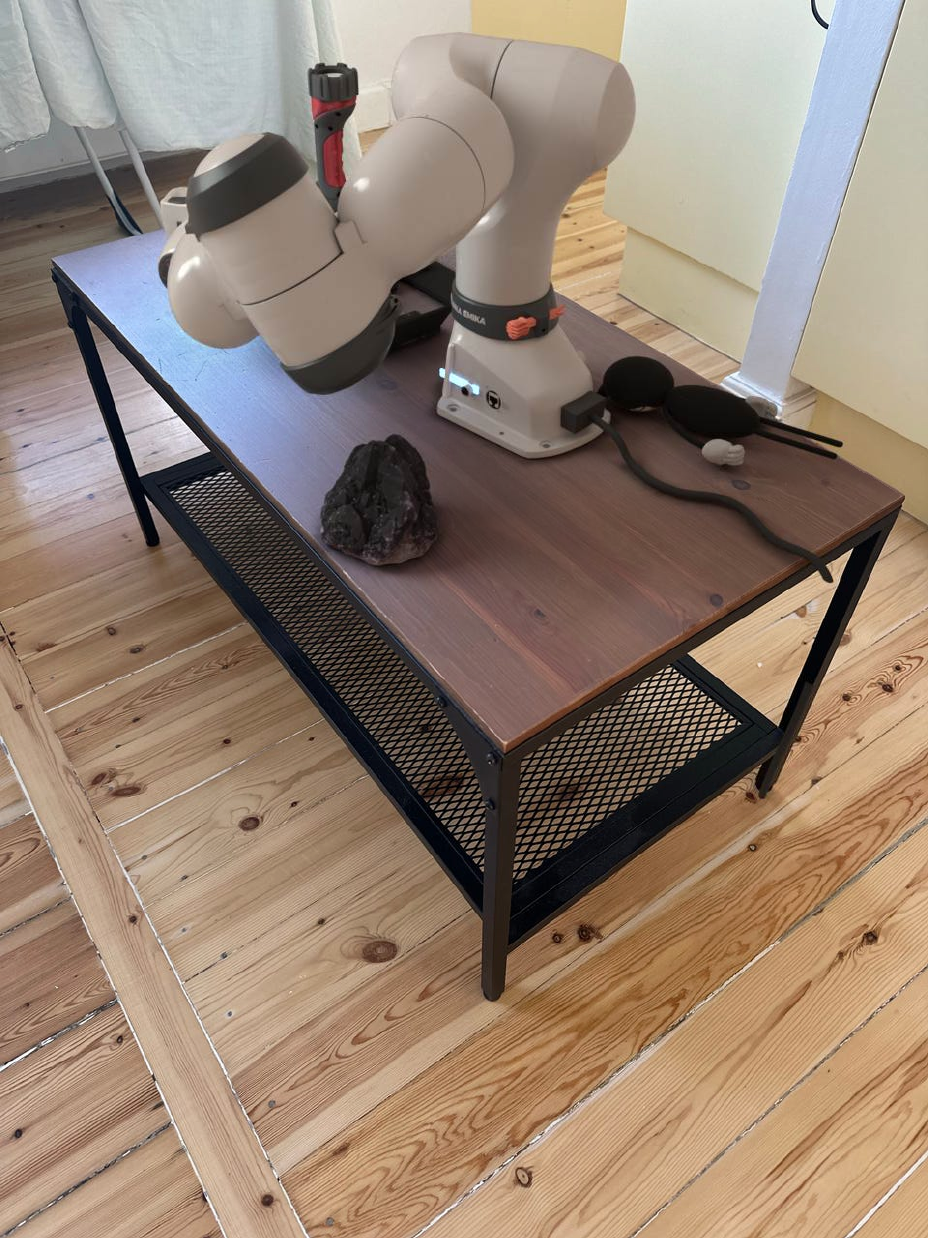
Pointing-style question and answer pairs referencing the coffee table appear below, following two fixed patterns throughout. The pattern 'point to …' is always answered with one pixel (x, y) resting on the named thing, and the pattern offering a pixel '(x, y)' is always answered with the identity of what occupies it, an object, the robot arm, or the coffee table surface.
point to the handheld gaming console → (418, 325)
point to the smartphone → (434, 281)
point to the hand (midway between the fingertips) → (257, 190)
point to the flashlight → (331, 123)
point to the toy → (700, 409)
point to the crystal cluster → (381, 504)
